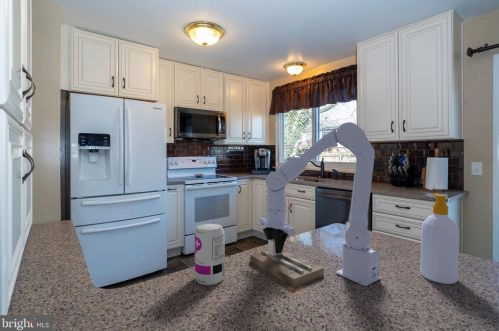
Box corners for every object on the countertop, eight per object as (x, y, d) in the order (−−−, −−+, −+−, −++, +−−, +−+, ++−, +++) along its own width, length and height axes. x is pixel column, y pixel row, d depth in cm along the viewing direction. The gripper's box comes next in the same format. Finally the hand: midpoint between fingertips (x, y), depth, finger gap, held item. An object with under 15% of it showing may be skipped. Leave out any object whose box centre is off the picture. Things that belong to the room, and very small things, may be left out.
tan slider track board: (323, 276, 75) (323, 265, 75) (293, 288, 68) (294, 276, 68) (277, 254, 91) (277, 245, 91) (250, 262, 84) (250, 252, 84)
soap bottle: (447, 271, 78) (450, 193, 77) (463, 286, 69) (467, 198, 68) (415, 268, 80) (417, 192, 80) (426, 282, 71) (429, 196, 70)
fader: (284, 255, 83) (284, 239, 83) (273, 258, 80) (273, 242, 80) (277, 252, 85) (278, 237, 85) (267, 255, 83) (267, 239, 83)
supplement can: (196, 288, 68) (195, 231, 67) (194, 274, 75) (193, 223, 75) (226, 284, 70) (226, 229, 69) (221, 271, 78) (221, 221, 77)
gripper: (252, 206, 86) (252, 247, 86) (282, 215, 74) (281, 261, 75) (269, 204, 90) (268, 243, 90) (299, 212, 78) (299, 256, 79)
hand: (275, 251), depth 83 cm, fingers closed on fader, 2 cm apart
